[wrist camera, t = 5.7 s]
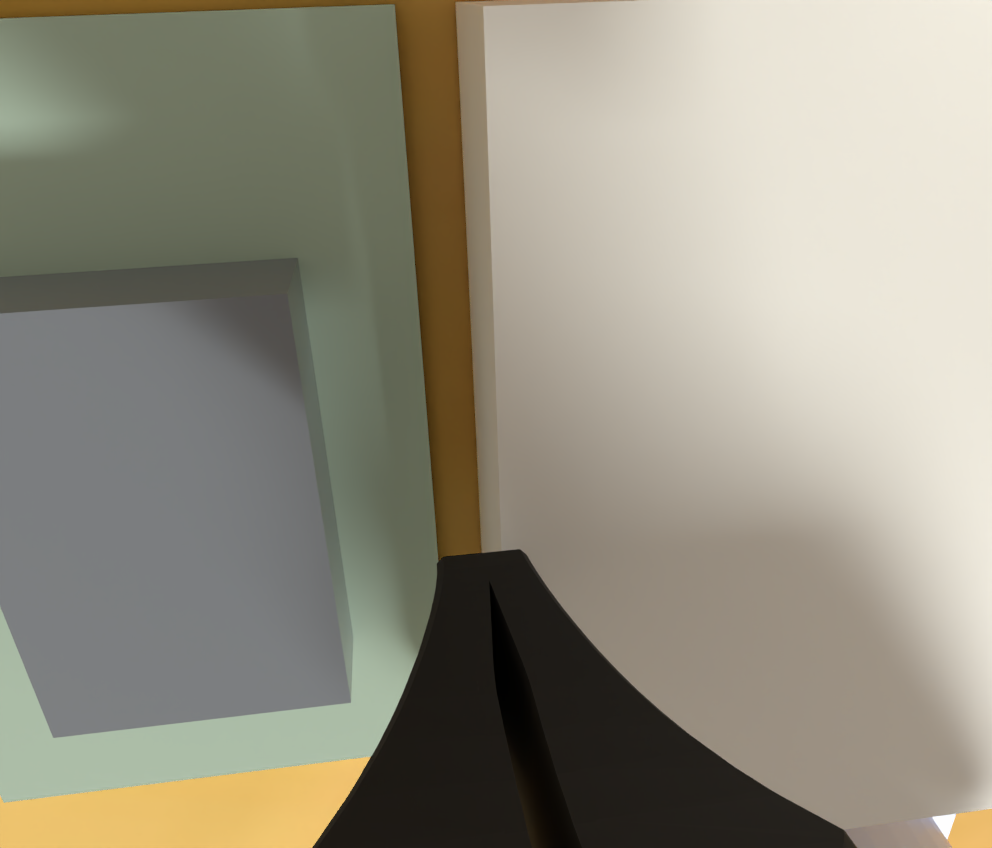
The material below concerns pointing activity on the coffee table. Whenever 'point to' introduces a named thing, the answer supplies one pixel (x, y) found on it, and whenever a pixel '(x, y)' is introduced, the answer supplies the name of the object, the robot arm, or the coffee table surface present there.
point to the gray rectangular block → (167, 497)
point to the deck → (749, 369)
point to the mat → (232, 238)
